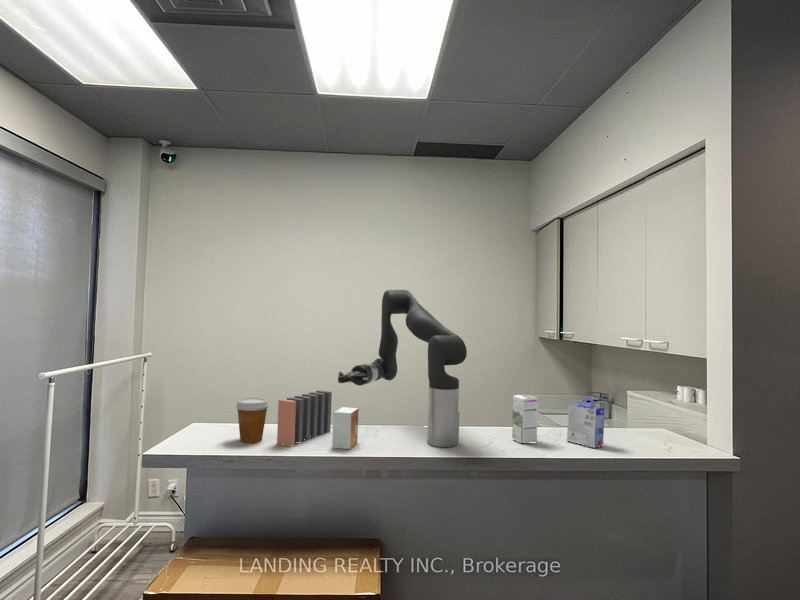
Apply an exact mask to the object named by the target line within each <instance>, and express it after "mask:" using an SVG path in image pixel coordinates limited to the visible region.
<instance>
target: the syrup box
mask: <svg viewBox="0 0 800 600" xmlns="http://www.w3.org/2000/svg"><path fill="white" fill-rule="evenodd" d="M512 438H513V439H515V440H517V441H519V442H521V443H529V442H537V443H538V397H536V396H533V395H532V396H531V395H528V394H517V395H515V394H514V395H513V396H512ZM521 443H520V444H521Z"/></svg>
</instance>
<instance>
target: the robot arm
mask: <svg viewBox="0 0 800 600" xmlns="http://www.w3.org/2000/svg"><path fill="white" fill-rule="evenodd" d="M399 314H402V315H404V314H405V315H406V316H405V326H406V328H407V329H408V330H409V331H410V333H411V334H412V335H413V336H414V337H416V338H417V339H419V340H421V341H423V342H425V343H428V345H427V377H428V410H427V411H428V412H427V414H428V415H427V439H426V441H427V442H426V443H427V444H428V445H430V446H432V447H433V446H434V447H438V448H439V447H440V448H452V447H456V446H457V445H458V443H459V441H460V436H459V435H460V411H459V400H460V398H459V397H460V395H459V393H460V380H459V379H458V378H457V377H455V376H452V375H450V374H449V373H447V372H446V367H445V366H457V365H461V364H462V363H464V361H466V358H467V355H468V354H467V353H468V351H467V346H466V343H465V341H464V340H463V339H462V338H461V337H460V336H459V335H458V334H456V333H454V332H453V331H451V330H450V329H448V328H447V327H445V326H444V324H442V323H441V322H440V321H439V320H438V319H436V318H435V316H433V314H431V313H430V312H429V311H428V310H426V308H424V307H423V306H422V305H421V303H419V301H418V300H417V299H416V298H415V297H414V295H413V294H412V293H411V292H410V291H409V290H407V289H389V290H386V291H384V292H383V295H382V299H381V328H380V329H381V331H380V332H381V333H380V342H379V348H378V358H376V359H374V361H373V362H371V363H363V364H358V365H355V366H354V367H352V369H351V370H349V371H346V372H345V373H344V372H342V371H338V374H337V375H338V376H337V382H338V383H339V384H345V383H347V384H348V383H351V384H354V385H356V386H364V385H368V384H370V383H373V382H376V381H379V380H380V379H384V380H386V381H389V382H390V381H392V380H394V379H395V378H396V376H397V373H398V362H397V350H398V344H399V339H398V334H397V333H396V330H395V328H394V326H393V324H392V320H391V319H392V315H399ZM457 442H458V443H457Z"/></svg>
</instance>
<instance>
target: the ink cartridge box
mask: <svg viewBox="0 0 800 600" xmlns="http://www.w3.org/2000/svg"><path fill="white" fill-rule="evenodd" d="M587 401H590V402H587ZM594 401H595V399H594V398H590V397H583V398H582V400H581V403H579V402H578V403H576V402H575V403H570V404H568V405H567V406H568V407H567V408H568V411H567V434H566V442H567V441H571V442H575V443H579V444H584V445H587V446H591V447H599V446H602V445H603V446H604V435H605V434H604V433H605V432H604V430H605V427H604V426H605V407H601V406H594V405H593V404H594ZM571 442H570V443H571ZM575 443H574V444H575ZM579 444H578V445H579ZM587 446H586V447H587ZM599 448H600V447H599Z"/></svg>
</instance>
